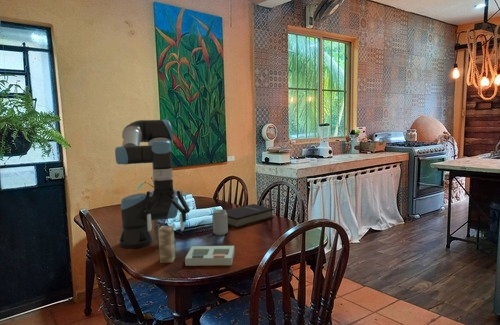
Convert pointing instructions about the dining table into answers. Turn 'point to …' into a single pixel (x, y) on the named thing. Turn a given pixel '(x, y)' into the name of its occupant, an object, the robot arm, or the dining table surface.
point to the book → (248, 215)
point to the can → (220, 222)
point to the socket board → (210, 255)
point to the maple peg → (166, 244)
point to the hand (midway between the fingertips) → (166, 230)
